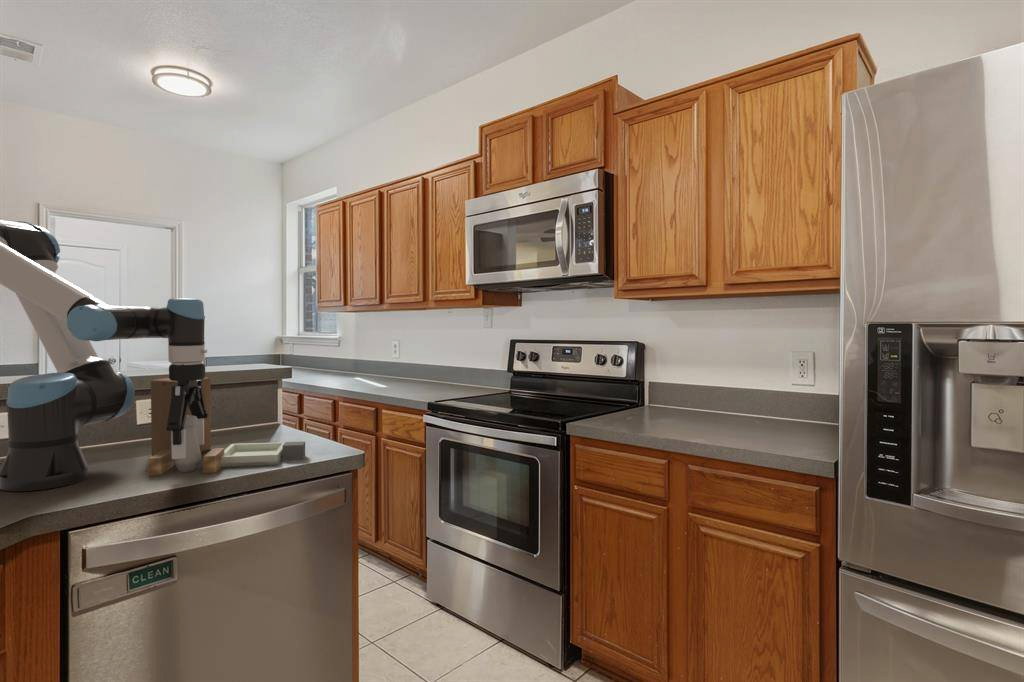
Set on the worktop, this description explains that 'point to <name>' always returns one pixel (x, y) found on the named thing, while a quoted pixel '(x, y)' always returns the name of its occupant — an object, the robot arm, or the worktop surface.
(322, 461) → the worktop surface
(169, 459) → the wooden blocks
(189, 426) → the salt shaker
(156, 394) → the wooden block
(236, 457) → the tray
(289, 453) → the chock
